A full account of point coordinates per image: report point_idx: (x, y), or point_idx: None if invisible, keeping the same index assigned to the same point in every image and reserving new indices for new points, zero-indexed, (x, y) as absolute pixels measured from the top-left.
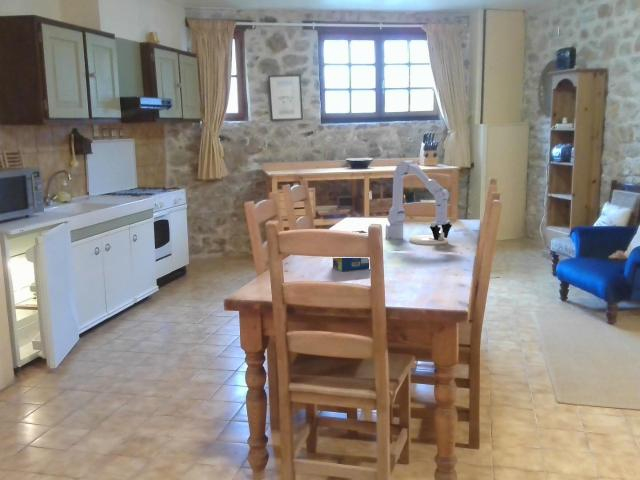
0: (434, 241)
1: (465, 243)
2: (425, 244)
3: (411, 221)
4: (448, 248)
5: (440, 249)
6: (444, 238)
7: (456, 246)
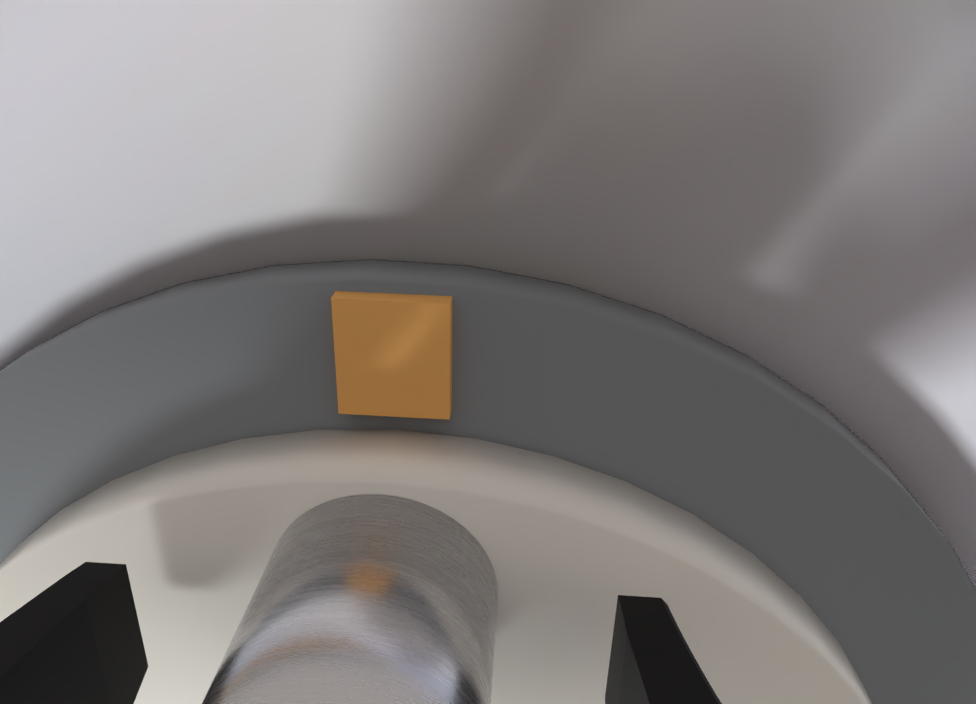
0: None
1: None
2: (865, 694)
3: None
4: (608, 85)
5: (919, 190)
6: None
7: (142, 77)
